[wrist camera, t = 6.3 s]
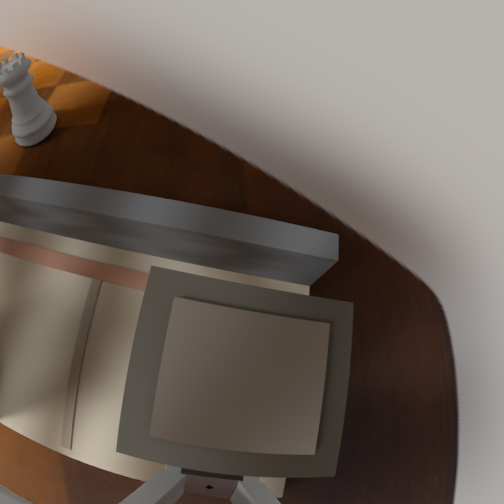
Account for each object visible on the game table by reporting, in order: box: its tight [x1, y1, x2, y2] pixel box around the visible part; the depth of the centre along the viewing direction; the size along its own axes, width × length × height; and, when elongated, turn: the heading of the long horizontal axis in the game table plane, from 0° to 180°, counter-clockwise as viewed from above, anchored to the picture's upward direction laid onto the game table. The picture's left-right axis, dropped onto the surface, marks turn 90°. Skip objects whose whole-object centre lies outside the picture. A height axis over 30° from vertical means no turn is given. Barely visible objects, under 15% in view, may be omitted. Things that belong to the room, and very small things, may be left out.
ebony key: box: [116, 265, 354, 478], centre depth 10 cm, size 4×4×10 cm
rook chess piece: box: [0, 52, 57, 147], centre depth 16 cm, size 4×4×8 cm
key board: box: [0, 174, 339, 498], centre depth 13 cm, size 24×14×5 cm, turn 82°
